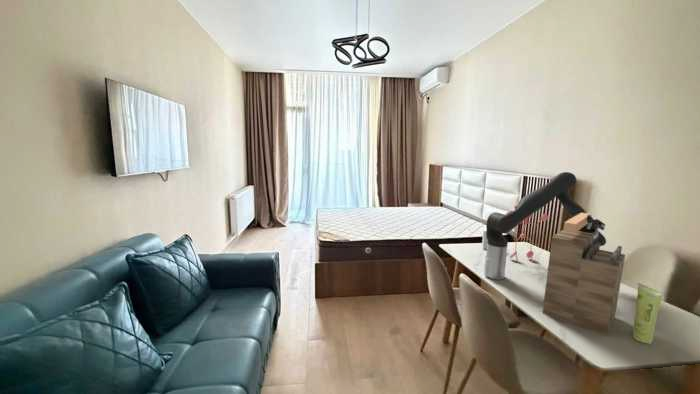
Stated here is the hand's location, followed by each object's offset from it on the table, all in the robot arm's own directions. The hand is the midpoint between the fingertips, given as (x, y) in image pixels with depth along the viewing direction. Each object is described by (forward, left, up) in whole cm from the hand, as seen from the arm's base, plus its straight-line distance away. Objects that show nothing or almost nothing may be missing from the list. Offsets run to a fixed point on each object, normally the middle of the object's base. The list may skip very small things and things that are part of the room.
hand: (582, 216), depth 124 cm
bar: (-3, -5, -3) cm, 7 cm away
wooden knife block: (-1, -12, -38) cm, 40 cm away
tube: (+14, -23, -38) cm, 47 cm away
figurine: (-11, +49, -38) cm, 63 cm away
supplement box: (-26, +63, -38) cm, 78 cm away
